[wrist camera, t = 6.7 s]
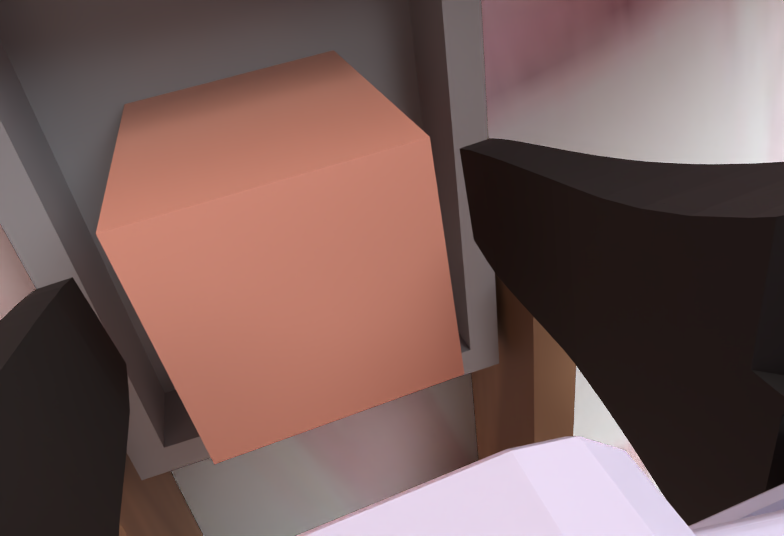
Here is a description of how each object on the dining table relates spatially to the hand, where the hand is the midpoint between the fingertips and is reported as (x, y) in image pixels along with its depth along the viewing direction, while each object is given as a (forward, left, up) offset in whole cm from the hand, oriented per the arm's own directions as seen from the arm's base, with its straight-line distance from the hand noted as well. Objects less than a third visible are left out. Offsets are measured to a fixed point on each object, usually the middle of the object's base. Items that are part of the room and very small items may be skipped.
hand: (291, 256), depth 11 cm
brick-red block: (0, 0, -4) cm, 4 cm away
